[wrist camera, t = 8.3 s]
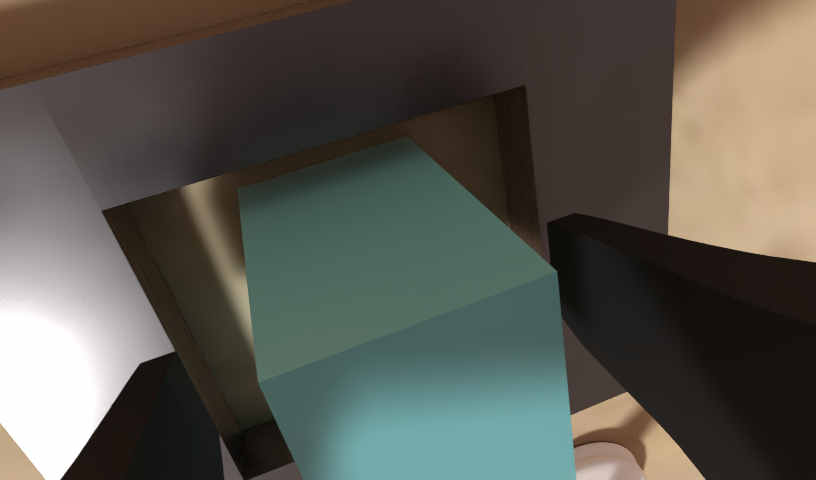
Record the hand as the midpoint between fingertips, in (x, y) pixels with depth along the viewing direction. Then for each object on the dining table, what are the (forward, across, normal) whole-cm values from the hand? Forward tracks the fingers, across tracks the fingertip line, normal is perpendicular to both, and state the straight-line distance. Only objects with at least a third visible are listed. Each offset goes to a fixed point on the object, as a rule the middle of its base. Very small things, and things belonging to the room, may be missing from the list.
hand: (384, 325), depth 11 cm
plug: (+2, 0, 0) cm, 3 cm away
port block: (+2, 0, 0) cm, 2 cm away
